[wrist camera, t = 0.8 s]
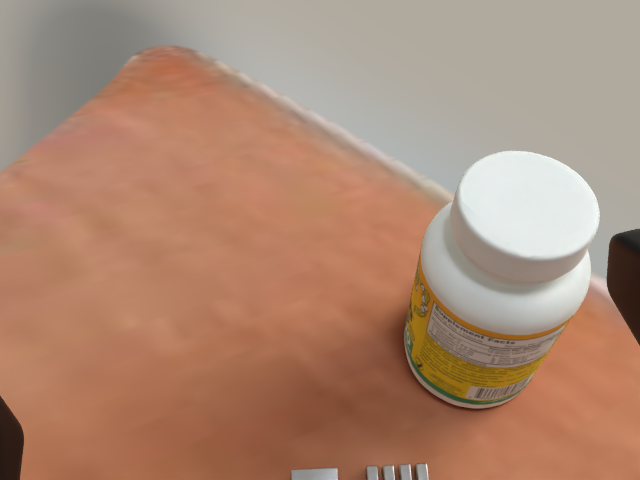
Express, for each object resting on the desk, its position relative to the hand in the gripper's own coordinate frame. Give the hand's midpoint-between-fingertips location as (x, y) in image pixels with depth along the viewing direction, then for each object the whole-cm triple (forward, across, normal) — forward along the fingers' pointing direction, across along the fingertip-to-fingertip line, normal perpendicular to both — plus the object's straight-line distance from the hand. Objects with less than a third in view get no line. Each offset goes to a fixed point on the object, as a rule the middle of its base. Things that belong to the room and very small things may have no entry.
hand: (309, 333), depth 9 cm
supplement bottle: (+11, -5, +13) cm, 18 cm away
